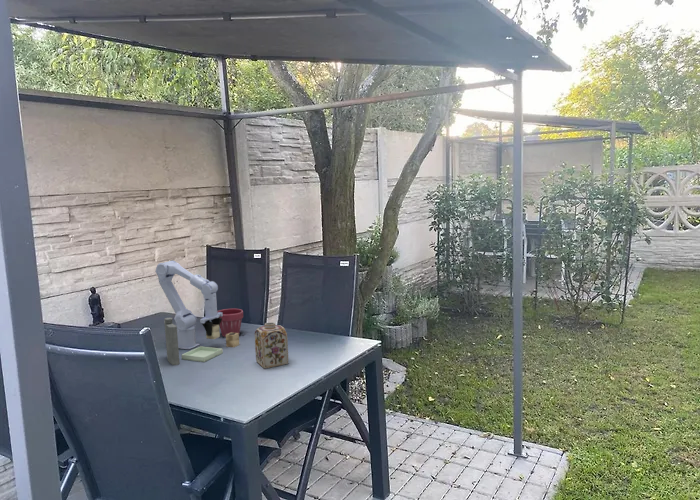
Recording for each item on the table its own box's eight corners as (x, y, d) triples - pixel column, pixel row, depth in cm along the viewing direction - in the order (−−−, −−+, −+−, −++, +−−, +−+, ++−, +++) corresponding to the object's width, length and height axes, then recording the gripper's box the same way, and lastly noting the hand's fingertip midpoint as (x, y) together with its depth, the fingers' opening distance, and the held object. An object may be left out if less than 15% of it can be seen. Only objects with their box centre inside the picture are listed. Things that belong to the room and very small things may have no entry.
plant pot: (250, 332, 279) (248, 309, 277) (231, 339, 267) (229, 315, 265) (230, 329, 286) (229, 307, 285) (211, 336, 275) (209, 313, 273)
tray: (181, 359, 239) (181, 354, 239) (200, 350, 251) (200, 346, 251) (204, 362, 234) (204, 357, 233) (222, 353, 246) (222, 348, 245)
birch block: (206, 338, 252) (205, 326, 251) (212, 335, 256) (211, 323, 255) (213, 339, 250) (213, 326, 249) (219, 336, 254) (218, 324, 253)
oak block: (226, 346, 256) (225, 334, 255) (231, 344, 260) (231, 332, 259) (233, 347, 254) (233, 335, 253) (239, 344, 258) (238, 332, 257)
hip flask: (180, 364, 232) (176, 321, 229) (170, 366, 230) (167, 322, 228) (173, 355, 246) (170, 313, 243) (165, 356, 244) (161, 315, 241)
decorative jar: (263, 369, 221) (261, 328, 219) (255, 361, 232) (252, 322, 229) (289, 364, 227) (287, 324, 225) (280, 356, 237) (278, 318, 235)
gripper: (207, 310, 243) (209, 339, 245) (226, 304, 256) (228, 330, 258) (195, 309, 246) (197, 337, 247) (215, 303, 259) (217, 329, 261)
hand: (212, 334), depth 253 cm, fingers closed on birch block, 4 cm apart
